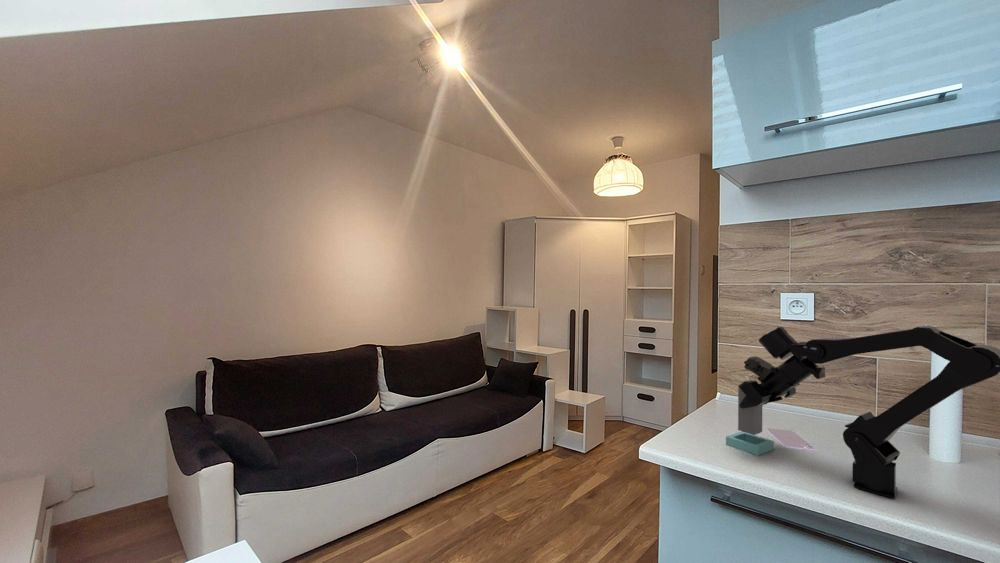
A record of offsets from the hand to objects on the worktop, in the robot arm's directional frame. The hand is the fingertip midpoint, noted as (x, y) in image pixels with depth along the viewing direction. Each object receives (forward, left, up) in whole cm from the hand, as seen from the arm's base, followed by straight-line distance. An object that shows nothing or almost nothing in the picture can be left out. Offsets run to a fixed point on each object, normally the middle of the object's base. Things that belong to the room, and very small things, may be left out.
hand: (745, 405), depth 113 cm
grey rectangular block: (-1, 0, -7) cm, 7 cm away
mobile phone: (-7, -15, -11) cm, 20 cm away
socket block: (-1, 0, -11) cm, 11 cm away
